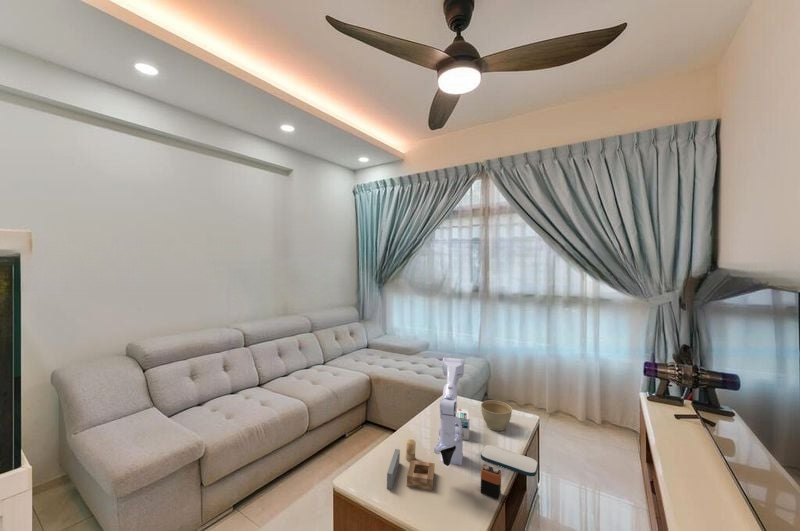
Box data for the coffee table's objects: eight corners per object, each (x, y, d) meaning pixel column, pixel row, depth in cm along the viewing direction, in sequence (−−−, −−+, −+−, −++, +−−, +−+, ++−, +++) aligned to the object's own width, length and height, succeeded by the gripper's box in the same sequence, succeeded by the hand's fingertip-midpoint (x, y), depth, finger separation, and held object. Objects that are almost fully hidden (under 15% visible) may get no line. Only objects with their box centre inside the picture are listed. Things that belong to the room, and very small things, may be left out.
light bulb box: (469, 440, 155) (469, 419, 155) (455, 438, 156) (456, 417, 156) (468, 429, 165) (469, 409, 165) (455, 427, 167) (456, 407, 167)
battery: (498, 500, 116) (499, 473, 116) (480, 493, 119) (481, 467, 119) (500, 493, 120) (501, 467, 120) (483, 486, 123) (483, 461, 123)
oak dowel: (415, 457, 140) (416, 440, 140) (414, 463, 136) (414, 445, 136) (406, 456, 141) (407, 439, 141) (405, 462, 137) (405, 444, 137)
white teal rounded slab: (478, 460, 141) (478, 455, 140) (485, 447, 150) (485, 443, 150) (535, 479, 129) (535, 475, 129) (538, 464, 139) (538, 460, 139)
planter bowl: (514, 424, 172) (515, 405, 172) (507, 438, 158) (508, 416, 158) (485, 416, 181) (486, 397, 180) (476, 428, 167) (477, 408, 167)
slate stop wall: (399, 464, 135) (399, 449, 135) (391, 490, 120) (392, 474, 119) (394, 463, 136) (395, 448, 136) (386, 489, 120) (387, 473, 120)
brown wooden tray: (434, 472, 130) (434, 463, 130) (432, 490, 120) (432, 479, 120) (410, 469, 131) (410, 459, 131) (406, 486, 122) (407, 475, 121)
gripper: (449, 420, 132) (448, 452, 132) (428, 432, 121) (427, 467, 121) (464, 426, 127) (463, 459, 127) (443, 440, 116) (442, 476, 116)
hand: (446, 464), depth 124 cm, fingers closed
